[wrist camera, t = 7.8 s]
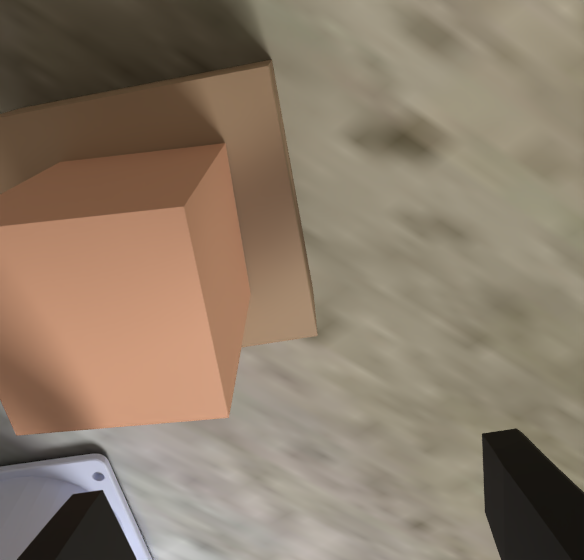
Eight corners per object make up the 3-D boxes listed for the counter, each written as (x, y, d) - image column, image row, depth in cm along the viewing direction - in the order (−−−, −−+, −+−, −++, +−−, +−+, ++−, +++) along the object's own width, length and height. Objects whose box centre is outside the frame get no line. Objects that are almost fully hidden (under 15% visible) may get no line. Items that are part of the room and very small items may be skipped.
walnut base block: (312, 286, 19) (317, 335, 16) (108, 318, 20) (75, 373, 17) (272, 58, 16) (268, 65, 13) (27, 106, 16) (-35, 124, 13)
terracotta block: (250, 294, 15) (228, 418, 10) (105, 308, 16) (15, 435, 11) (225, 143, 14) (183, 206, 9) (60, 162, 14) (-74, 234, 9)
